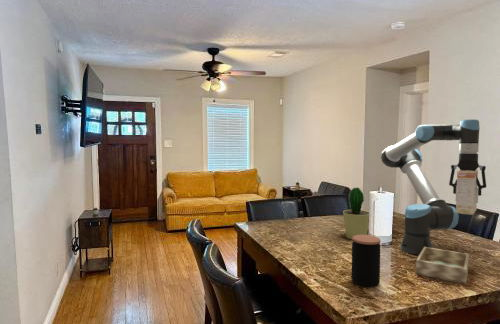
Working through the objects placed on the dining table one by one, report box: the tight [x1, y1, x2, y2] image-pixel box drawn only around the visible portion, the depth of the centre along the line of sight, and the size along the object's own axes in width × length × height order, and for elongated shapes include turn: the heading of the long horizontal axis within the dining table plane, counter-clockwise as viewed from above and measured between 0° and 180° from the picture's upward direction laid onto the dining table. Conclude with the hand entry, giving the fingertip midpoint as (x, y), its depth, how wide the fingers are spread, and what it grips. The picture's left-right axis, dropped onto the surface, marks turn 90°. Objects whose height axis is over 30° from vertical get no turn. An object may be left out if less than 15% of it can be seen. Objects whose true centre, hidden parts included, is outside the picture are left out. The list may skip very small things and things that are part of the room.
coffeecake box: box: [455, 169, 479, 216], centre depth 156 cm, size 15×7×20 cm, turn 141°
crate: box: [415, 247, 470, 285], centre depth 145 cm, size 18×22×6 cm
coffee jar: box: [350, 234, 382, 289], centre depth 133 cm, size 11×11×18 cm
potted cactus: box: [342, 187, 370, 240], centre depth 195 cm, size 15×15×30 cm
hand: (466, 201), depth 157 cm, fingers closed on coffeecake box, 7 cm apart
